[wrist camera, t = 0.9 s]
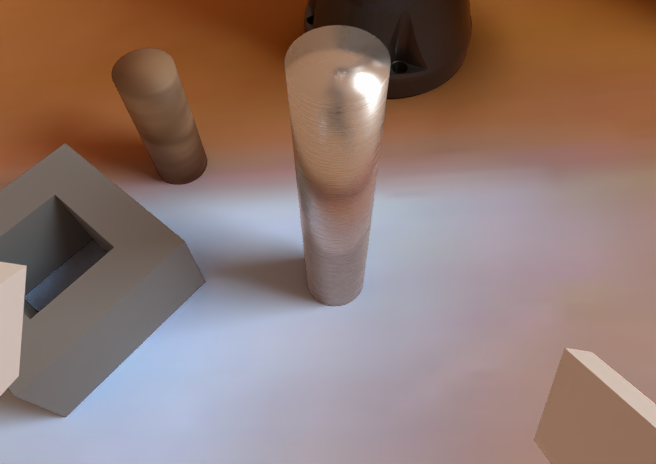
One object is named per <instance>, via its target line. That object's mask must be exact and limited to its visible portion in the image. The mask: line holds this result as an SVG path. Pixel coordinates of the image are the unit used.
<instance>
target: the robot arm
mask: <svg viewBox="0 0 656 464" xmlns="http://www.w3.org/2000/svg"><path fill="white" fill-rule="evenodd" d="M331 25H344V26H351V27H356V28H359V29H362V30H365V31H367V32H369V33H371V34H372V35H374V36H375V37H377V38H378V39H379V40H380V41H381V42H382V43H383V44H384V45H385V47H386V48H387V50H388V52H389V55H390V60H391V66H390V75H389V83H388V91H387V98H402V97H409V96H414V95H418V94H422V93H425V92H427V91H430V90H432V89H434V88H437V87H438V86H440V85H442V84H443V83H445V82H446V81H447V80H449V79H450V78H451V77H452V76H453V75H454V74H455V73H456V72H457V71H458V69H459V68H460V66H461V65H462V63H463V61H464V58H465V55H466V52H467V48H468V45H469V41H470V37H471V29H472V22H471V15H470V3H469V0H309V2H308V5H307V8H306V12H305V19H304V32H305V33H306V32H308V31H311V30H313V29H316V28H319V27H324V26H331ZM26 268H27V266H26V265H19V264H13V263H6V262H0V396H1V395H2V394H3V393H4V391H5V390H6V389H7V388H8V387H9V386H10V385H11V384H12V383H13V382H14V381H15V379H16V378H17V377H18V376H19V366H20V352H21V338H22V324H23V310H24V296H25V282H26ZM534 441H535V442H536V444H537V445H538V446H539V448H540V449H541V450H542V452H543V453H544V455H545V456H546V457H547V459H548V460H549V461H550V463H551V464H656V404H655V403H653V402H652V401H651V400H650V399H649V398H647V397H646V396H645V395H644V394H642V393H641V392H640V391H639V390H638V389H636V388H635V387H634V386H633V385H631V384H630V383H629V382H628V381H627V380H625V379H624V378H623V377H622V376H620V375H619V374H618V373H617V372H616V371H614V370H613V369H612V368H611V367H609V366H608V365H607V364H606V363H605V362H603V361H602V360H601V359H600V358H598V357H597V356H596V355H595V354H594V353H592V352H589V351H582V350H576V349H569V348H565V349H564V352H563V354H562V357H561V360H560V363H559V366H558V369H557V372H556V375H555V378H554V381H553V384H552V387H551V390H550V393H549V396H548V399H547V402H546V405H545V408H544V411H543V414H542V417H541V420H540V423H539V426H538V429H537V431H536V434H535V437H534Z"/></svg>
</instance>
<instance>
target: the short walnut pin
mask: <svg viewBox="0 0 656 464" xmlns="http://www.w3.org/2000/svg"><path fill="white" fill-rule="evenodd" d="M112 79H113V82H114V84H115V86H116V88H117V90H118V92H119V94H120V96H121V98H122V100H123V102H124V104H125V106H126V108H127V110H128V112H129V114H130V116H131V118H132V120H133V122H134V124H135V126H136V128H137V130H138V132H139V134H140V136H141V139H142V141H143V143H144V145H145V147H146V149H147V151H148V153H149V155H150V157H151V159H152V161H153V163H154V165H155V167H156V169H157V171H158V173H159V175H160V176H161V178H162V179H163V180H165V181H167V182H169V183H172V184H186V183H190V182H192V181H194V180H196V179H197V178H199V177H200V176H201V175H202V174H203V172H204V171H205V169H206V166H207V157H206V154H205V151H204V148H203V145H202V142H201V139H200V136H199V133H198V130H197V128H196V125H195V122H194V119H193V116H192V113H191V110H190V107H189V104H188V101H187V98H186V95H185V92H184V89H183V87H182V84H181V81H180V78H179V75H178V72H177V69H176V66H175V63H174V60H173V59H172V57H171V56H170V55H169V54H168V53H166V52H165V51H162V50H160V49H155V48H142V49H137V50H134V51H131V52H129V53H127V54H125V55H124V56H122V57H121V58H120V59H119V60H118V61H117V62H116V63H115V65H114V67H113V69H112Z"/></svg>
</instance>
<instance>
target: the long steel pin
mask: <svg viewBox="0 0 656 464" xmlns="http://www.w3.org/2000/svg"><path fill="white" fill-rule="evenodd" d="M390 66H391V60H390V55H389V52H388V50H387V48H386V47H385V45H384V44H383V43H382V42H381V41H380V40H379V39H378V38H377V37H375V36H374V35H372V34H371V33H369V32H367V31H365V30H362V29H359V28H356V27H351V26H344V25H331V26H324V27H319V28H316V29H313V30H311V31H308V32H306V33H305V34H303V35H301V36H300V37H298V38H297V39H296V40H295V41H294V42H293V43H292V44H291V46H290V47H289V49H288V51H287V53H286V56H285V74H286V83H287V93H288V102H289V112H290V122H291V131H292V141H293V150H294V160H295V169H296V179H297V189H298V198H299V208H300V217H301V227H302V236H303V246H304V256H305V265H306V275H307V284H308V288H309V290H310V292H311V294H312V295H313V296H314V297H315V298H316V299H317V300H318V301H320V302H321V303H323V304H326V305H330V306H341V305H345V304H347V303H350V302H351V301H353V300H354V299H355V298H356V297H357V296H358V295H359V294H360V292H361V290H362V287H363V282H364V274H365V266H366V258H367V250H368V242H369V234H370V226H371V218H372V210H373V202H374V194H375V186H376V178H377V170H378V162H379V154H380V146H381V139H382V131H383V123H384V115H385V107H386V99H387V91H388V83H389V75H390Z"/></svg>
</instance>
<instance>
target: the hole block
mask: <svg viewBox="0 0 656 464" xmlns="http://www.w3.org/2000/svg"><path fill="white" fill-rule="evenodd" d="M92 239H93V240H94V241H95V242H96V243H97V244H98V245H99V246H100V247H102V248H103V249H104V250H105V251H106V252H107V254H106V255H105V256H103V257H102V258H101V259H100V260H99V261H98V262H96V263H95V264H94V265H93V266H92V267H91V268H89V269H88V270H87V271H86V272H85V273H84V274H83V275H81V276H80V277H79V278H78V279H77V280H76V281H74V282H73V283H72V284H71V285H70V286H69V287H67V288H66V289H65V290H64V291H63V292H62V293H60V294H59V295H58V296H57V297H56V298H55V299H53V300H52V301H51V302H50V303H49V304H48V305H47V306H45V307H44V308H43V309H42V310H41V311H40V312H37V311H36V310H35V309H34V308H33V307H32V306H31V305H30V304H29V303H28V302H27V301H26V300H25V299H24V310H23V324H22V338H21V352H20V366H19V376H18V377H17V378H16V379H15V381H14V382H13V383H12V384H11V385H10V386H9V387H8V389H9V391H10V392H11V393H12V394H13V395H14V396H15V397H17V398H20V399H22V400H25V401H27V402H29V403H32V404H34V405H37V406H39V407H42V408H44V409H47V410H49V411H51V412H54V413H56V414H59V415H61V416H64V417H67V416H68V415H69V414H70V413H71V412H72V411H73V410H74V409H75V408H76V407H77V406H78V405H79V404H80V403H81V402H82V401H83V400H84V399H85V398H86V397H87V396H88V395H89V394H90V393H91V392H92V391H93V390H94V389H95V388H96V387H97V386H98V385H99V384H100V383H102V382H103V381H104V380H105V379H106V378H107V377H108V376H109V375H110V374H111V373H112V372H113V371H114V370H115V369H116V368H117V367H118V366H119V365H120V364H121V363H122V362H123V361H124V360H125V359H126V358H127V357H128V356H129V355H130V354H131V353H132V352H133V351H134V350H135V349H137V348H138V347H139V346H140V345H141V344H142V343H143V342H144V341H145V340H146V339H147V338H148V337H149V336H150V335H151V334H152V333H153V332H154V331H155V330H156V329H157V328H158V327H159V326H160V325H161V324H162V323H163V322H164V321H165V320H166V319H167V318H168V317H169V316H170V315H172V314H173V313H174V312H175V311H176V310H177V309H178V308H179V307H180V306H181V305H182V304H183V303H184V302H185V301H186V300H187V299H188V298H189V297H190V296H191V295H192V294H193V293H194V292H195V291H196V290H197V289H198V288H199V287H200V286H201V285H202V284H203V283H204V282H205V280H204V278H203V276H202V274H201V272H200V270H199V268H198V266H197V264H196V262H195V260H194V258H193V256H192V255H191V253H190V251H189V249H188V247H187V245H186V243H185V241H184V240H182V239H181V238H180V237H179V236H178V235H176V234H175V233H174V232H173V231H172V230H170V229H169V228H168V227H167V226H165V225H164V224H163V223H162V222H161V221H159V220H158V219H157V218H156V217H155V216H153V215H152V214H151V213H150V212H148V211H147V210H146V209H145V208H144V207H142V206H141V205H140V204H139V203H138V202H136V201H135V200H134V199H133V198H131V197H130V196H129V195H128V194H127V193H125V192H124V191H123V190H122V189H121V188H119V187H118V186H117V185H116V184H114V183H113V182H112V181H111V180H110V179H108V178H107V177H106V176H105V175H104V174H102V173H101V172H100V171H99V170H97V169H96V168H95V167H94V166H93V165H91V164H90V163H89V162H88V161H87V160H85V159H84V158H83V157H82V156H80V155H79V154H78V153H77V152H76V151H74V150H73V149H72V148H71V147H70V146H68V145H67V144H66V143H64V144H63V145H62V146H60V147H59V148H58V149H56V150H55V151H53V152H52V153H51V154H49V155H48V156H47V157H45V158H44V159H43V160H41V161H40V162H38V163H37V164H36V165H34V166H33V167H32V168H30V169H29V170H28V171H26V172H25V173H24V174H22V175H21V176H19V177H18V178H17V179H15V180H14V181H13V182H11V183H10V184H9V185H7V186H6V187H4V188H3V189H2V190H0V262H6V263H13V264H19V265H26V266H27V268H26V282H25V295H26V294H27V293H29V292H30V291H31V290H32V289H33V288H35V287H36V286H37V285H38V284H39V283H41V282H42V281H43V280H44V279H45V278H47V277H48V276H49V275H50V274H51V273H52V272H54V271H55V270H56V269H57V268H58V267H60V266H61V265H62V264H63V263H64V262H66V261H67V260H68V259H69V258H70V257H72V256H73V255H74V254H75V253H76V252H78V251H79V250H80V249H81V248H82V247H84V246H85V245H86V244H87V243H88V242H90V241H91V240H92Z"/></svg>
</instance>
